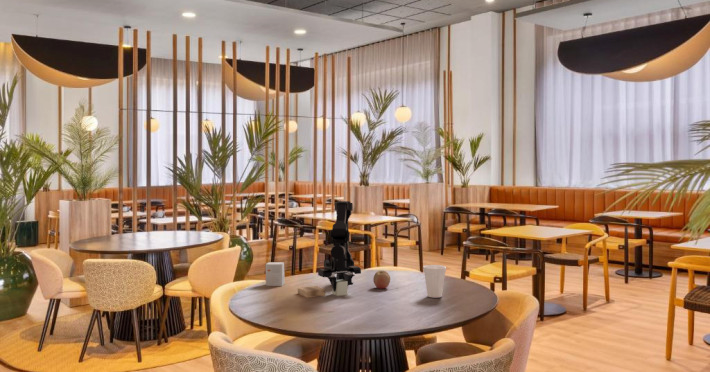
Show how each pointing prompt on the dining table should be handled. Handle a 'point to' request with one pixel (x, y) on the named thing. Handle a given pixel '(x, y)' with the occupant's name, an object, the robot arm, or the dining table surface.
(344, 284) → the sage cube
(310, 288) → the oak block
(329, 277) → the robot arm
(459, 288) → the dining table surface
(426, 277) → the cup
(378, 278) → the fruit
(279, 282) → the small box
